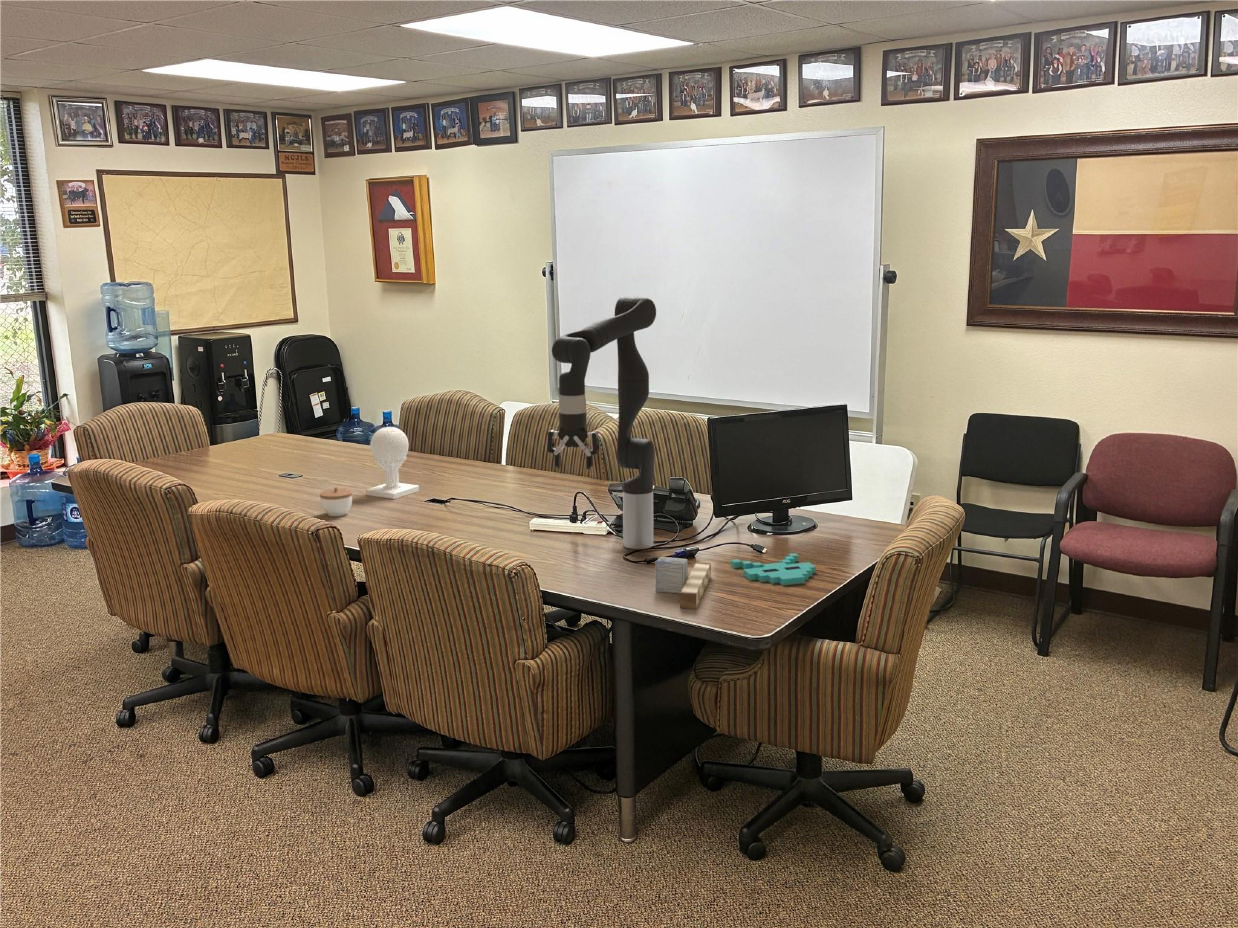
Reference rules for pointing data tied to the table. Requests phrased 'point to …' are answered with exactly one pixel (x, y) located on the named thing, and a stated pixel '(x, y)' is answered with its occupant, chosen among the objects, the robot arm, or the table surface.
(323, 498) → the lidded jar
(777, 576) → the alien figure
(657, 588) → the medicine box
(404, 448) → the trophy
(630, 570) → the table surface
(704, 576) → the maple rail
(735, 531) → the table surface
